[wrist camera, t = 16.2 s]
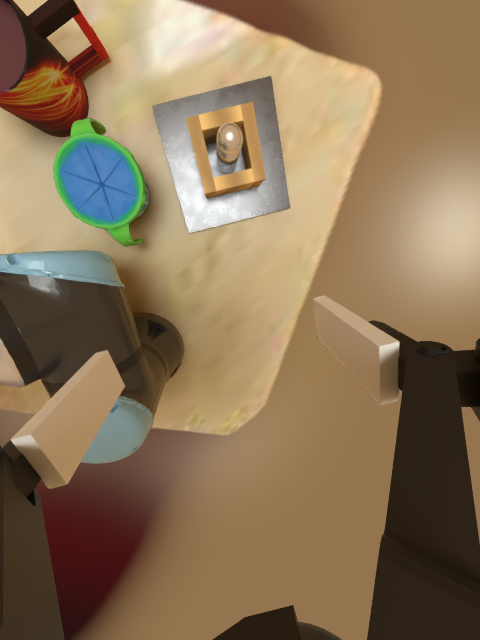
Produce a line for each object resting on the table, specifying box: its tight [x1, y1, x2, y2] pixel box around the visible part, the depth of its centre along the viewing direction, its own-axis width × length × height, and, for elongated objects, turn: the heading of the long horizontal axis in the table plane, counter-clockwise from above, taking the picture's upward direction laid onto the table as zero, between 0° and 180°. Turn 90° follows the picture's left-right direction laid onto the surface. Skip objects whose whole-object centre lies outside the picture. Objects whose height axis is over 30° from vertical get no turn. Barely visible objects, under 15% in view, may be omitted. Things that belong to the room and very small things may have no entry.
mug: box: [0, 0, 109, 137], centre depth 28 cm, size 10×14×12 cm
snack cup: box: [53, 118, 150, 246], centre depth 35 cm, size 16×11×10 cm
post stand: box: [152, 76, 290, 233], centre depth 33 cm, size 18×18×12 cm
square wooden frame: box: [186, 102, 266, 199], centre depth 36 cm, size 9×9×6 cm
